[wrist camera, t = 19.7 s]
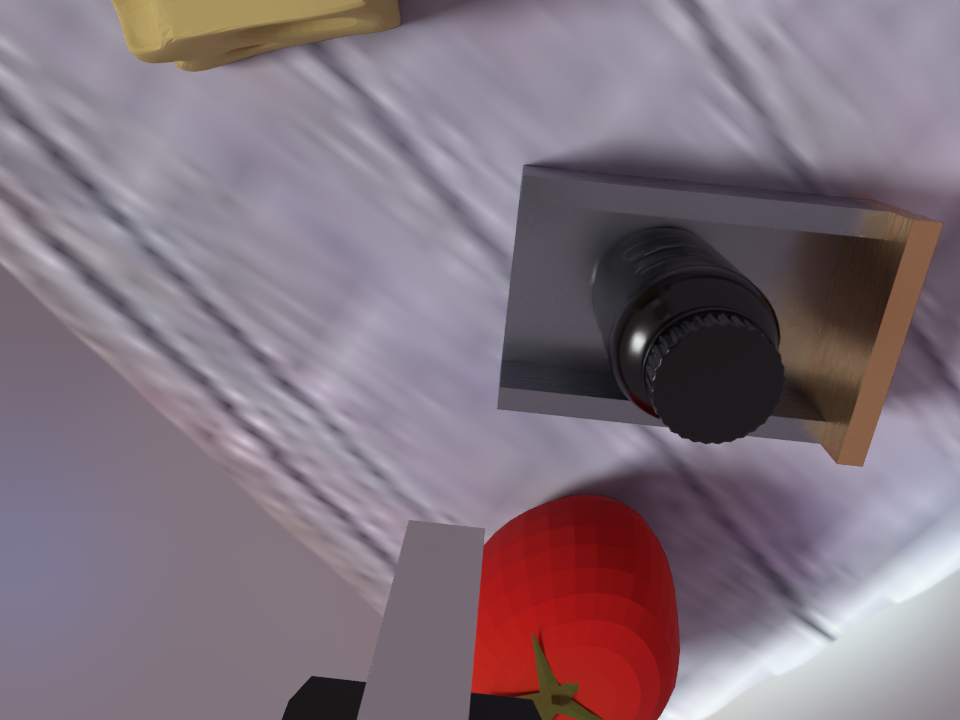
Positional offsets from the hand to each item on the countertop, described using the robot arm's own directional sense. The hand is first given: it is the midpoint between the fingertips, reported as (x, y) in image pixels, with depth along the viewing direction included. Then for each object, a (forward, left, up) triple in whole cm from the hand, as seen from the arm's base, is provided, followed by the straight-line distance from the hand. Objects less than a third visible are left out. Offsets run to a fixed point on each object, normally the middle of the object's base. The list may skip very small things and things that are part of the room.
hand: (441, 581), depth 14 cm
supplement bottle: (+9, 0, -24) cm, 26 cm away
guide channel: (+9, 0, -24) cm, 26 cm away
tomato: (+6, -17, -25) cm, 31 cm away
